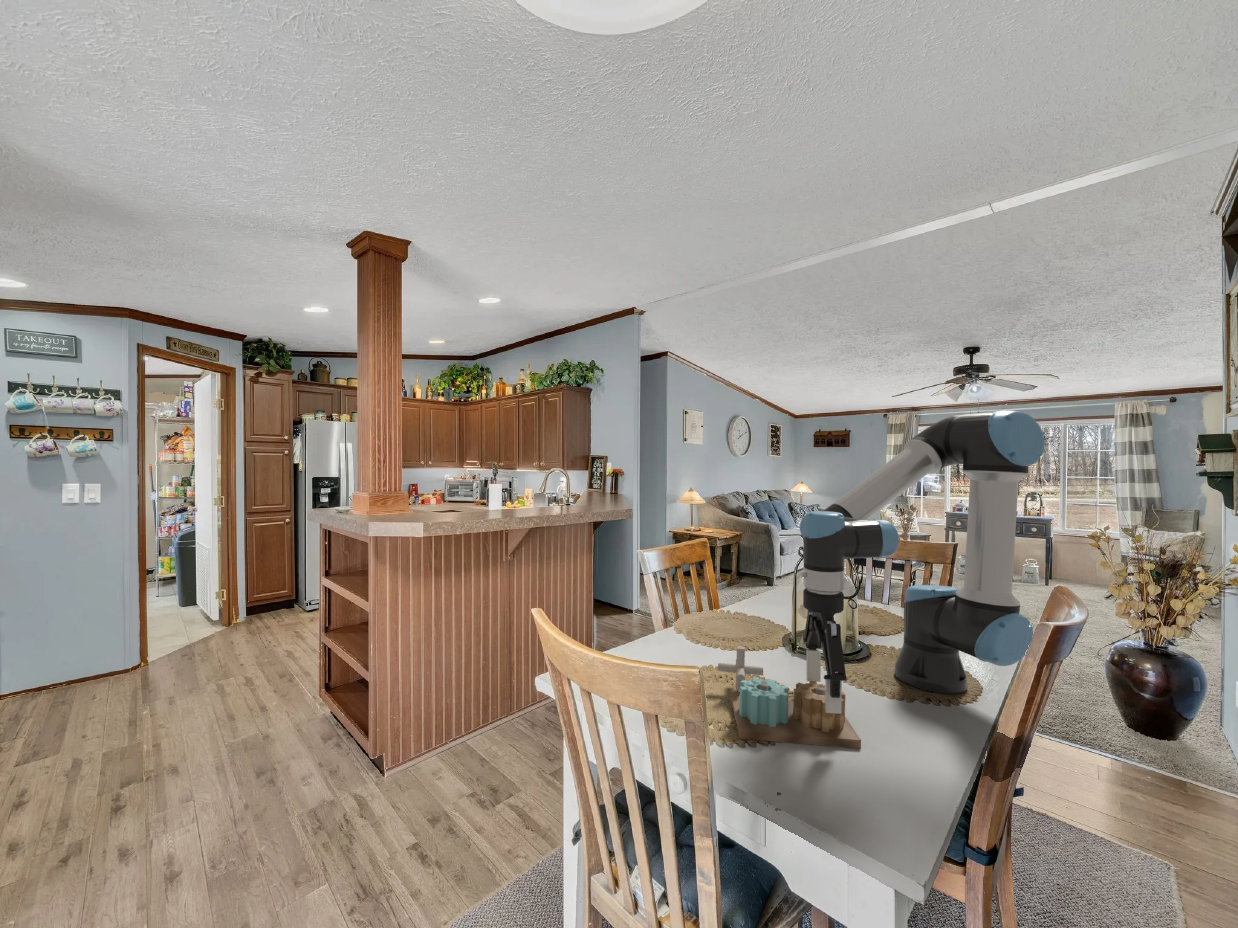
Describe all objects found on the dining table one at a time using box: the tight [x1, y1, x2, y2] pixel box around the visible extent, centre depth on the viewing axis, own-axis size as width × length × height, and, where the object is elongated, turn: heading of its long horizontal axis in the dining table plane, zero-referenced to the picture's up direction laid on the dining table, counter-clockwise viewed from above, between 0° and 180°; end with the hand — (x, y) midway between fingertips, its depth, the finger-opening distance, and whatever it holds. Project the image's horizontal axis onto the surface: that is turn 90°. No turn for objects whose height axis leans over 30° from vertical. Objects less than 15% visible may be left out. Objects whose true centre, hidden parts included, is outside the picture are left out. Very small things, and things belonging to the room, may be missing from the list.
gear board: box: [730, 684, 862, 749], centre depth 104 cm, size 22×14×8 cm, turn 84°
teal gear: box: [739, 676, 789, 727], centre depth 104 cm, size 10×10×6 cm
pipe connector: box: [717, 645, 764, 692], centre depth 118 cm, size 10×10×10 cm
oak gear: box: [793, 681, 846, 732], centre depth 103 cm, size 10×10×6 cm
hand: (822, 695), depth 103 cm, fingers open, 13 cm apart
